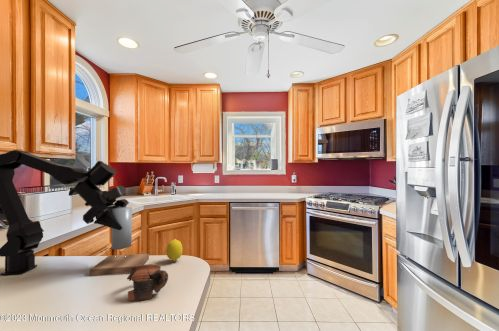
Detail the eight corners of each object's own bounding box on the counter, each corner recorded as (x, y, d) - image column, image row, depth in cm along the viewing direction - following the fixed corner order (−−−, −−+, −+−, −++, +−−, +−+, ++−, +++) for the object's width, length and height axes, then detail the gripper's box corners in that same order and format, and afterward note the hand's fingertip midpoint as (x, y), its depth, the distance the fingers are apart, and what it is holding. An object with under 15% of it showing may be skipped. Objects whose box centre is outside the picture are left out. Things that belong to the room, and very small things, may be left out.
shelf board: (90, 275, 73) (90, 269, 73) (108, 261, 85) (108, 255, 85) (137, 272, 74) (137, 266, 74) (148, 259, 86) (148, 253, 86)
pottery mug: (115, 304, 57) (120, 268, 62) (142, 303, 65) (145, 271, 69) (156, 295, 55) (159, 259, 59) (179, 296, 63) (180, 263, 67)
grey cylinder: (111, 250, 75) (112, 210, 76) (111, 245, 80) (111, 207, 81) (132, 247, 79) (132, 208, 79) (130, 243, 84) (131, 206, 84)
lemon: (177, 264, 80) (177, 241, 80) (163, 263, 81) (163, 240, 82) (185, 259, 86) (185, 237, 86) (171, 258, 87) (171, 236, 87)
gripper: (93, 178, 71) (130, 214, 71) (123, 177, 90) (152, 206, 90) (66, 205, 70) (103, 241, 70) (102, 198, 89) (131, 227, 89)
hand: (125, 227), depth 80 cm, fingers closed on grey cylinder, 6 cm apart
